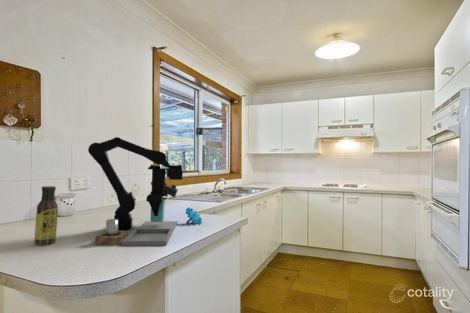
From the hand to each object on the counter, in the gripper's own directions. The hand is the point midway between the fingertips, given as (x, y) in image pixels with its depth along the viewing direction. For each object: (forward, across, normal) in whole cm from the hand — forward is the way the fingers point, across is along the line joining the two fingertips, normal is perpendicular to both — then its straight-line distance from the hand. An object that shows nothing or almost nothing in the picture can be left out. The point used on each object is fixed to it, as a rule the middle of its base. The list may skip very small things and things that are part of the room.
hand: (157, 215), depth 123 cm
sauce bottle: (+6, -23, +34) cm, 41 cm away
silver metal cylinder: (+6, -22, +12) cm, 26 cm away
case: (+6, -9, -1) cm, 11 cm away
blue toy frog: (+6, +9, -16) cm, 19 cm away
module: (+2, 0, 0) cm, 3 cm away
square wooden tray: (+6, -22, +12) cm, 26 cm away
